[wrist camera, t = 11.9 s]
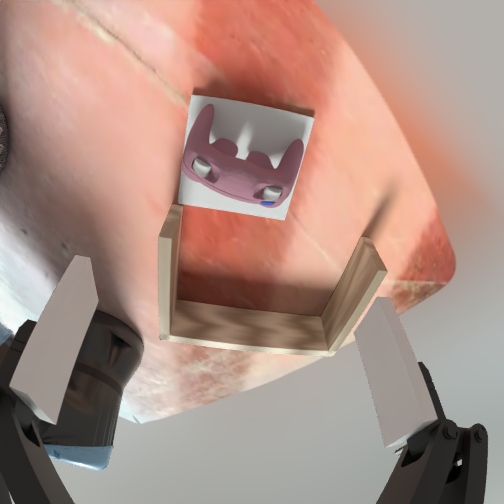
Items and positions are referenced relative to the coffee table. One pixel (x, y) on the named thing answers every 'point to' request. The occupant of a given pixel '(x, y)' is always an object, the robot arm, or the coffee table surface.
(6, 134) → the planter
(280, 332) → the bay
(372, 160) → the coffee table surface
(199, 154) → the video game controller
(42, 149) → the coffee table surface
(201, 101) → the pad
